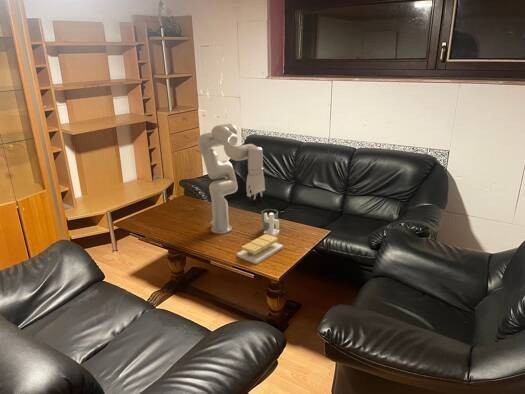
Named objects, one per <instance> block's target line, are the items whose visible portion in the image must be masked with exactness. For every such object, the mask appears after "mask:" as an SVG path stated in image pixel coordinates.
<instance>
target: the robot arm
mask: <svg viewBox="0 0 525 394" xmlns="http://www.w3.org/2000/svg"><path fill="white" fill-rule="evenodd" d="M237 129H238V128H237V127H236V126H235V125H234V124H232V123H226V124H219V125H215V126H214V127H213V128H212V129H211V131H210V132H207V133H202V134H201V135H198V138H197V146H198V147H197V148H198V150H199V152H200V154H201V155H202V158H203V162H204V165H205V168H206V173H207V175H208V177H209V179H211V180H215V179H216V180H215V181H213V182H211V183H210V184H209V187H208V189H209V194H210V197H211V199H210V200H211V209H212V219H211V221H210V222H209V224H210V225H212V227H211V229H210V231H211V232H212V233H214V234H218V235H220V234H221V235H222V234H227V233H229V232H231V231H232V229H233V228H232V226H231V225H230V221H229V204H228V200H227V199H226V198H225V196H227V195H231V194H234V193H236V192H237V191H238V189H239V188H238V187H239V186H238V181H237V177H236V173H235V169H234V167H233V164H232V162H230V161H229V160H220V159H219V156H218V153H217V152H216V151H215V149H213V148H215V147H216V148H217V147H221V146H223V150H224V153H225V155H226V156H227V157H228V158H229V159H231V160H233V161H235V162H238V161H244V160H247V166H248V168H247V169H248V171H247V172H248V173H247V177H246V183H245V184H246V188H245V189H246V190H245V191H246V196H247V197H249V199H250V205H251V206H252V207H254V208H255V207H257V206H258V205H263V201H262V200H263V198H262V197H263V194H264V192H265V191H266V181H265V175H264V154H263V148H262V147H260V146H256V145H255V144H253V143H248V144H240V145H237V143H238V135H237V134H238V130H237ZM220 178H222V179H220ZM217 179H219V180H217ZM257 204H258V205H257Z"/></svg>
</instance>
